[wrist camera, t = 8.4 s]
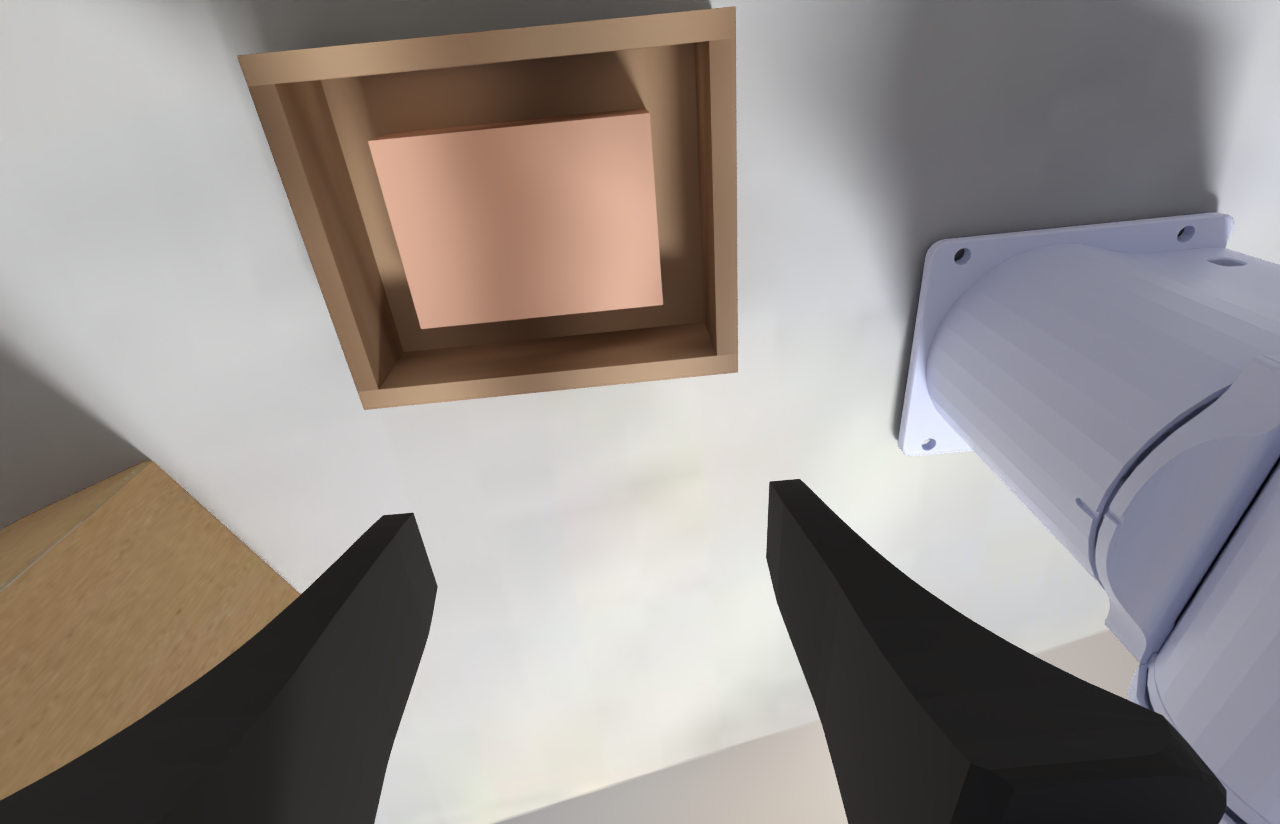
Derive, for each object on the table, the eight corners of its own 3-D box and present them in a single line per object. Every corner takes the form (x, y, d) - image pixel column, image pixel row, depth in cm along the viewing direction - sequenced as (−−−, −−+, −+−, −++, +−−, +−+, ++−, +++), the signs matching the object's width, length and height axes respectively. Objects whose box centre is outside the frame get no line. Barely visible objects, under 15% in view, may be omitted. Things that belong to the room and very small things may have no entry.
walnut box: (714, 14, 16) (735, 6, 14) (721, 332, 21) (737, 372, 18) (295, 56, 16) (236, 55, 13) (394, 365, 21) (364, 409, 18)
